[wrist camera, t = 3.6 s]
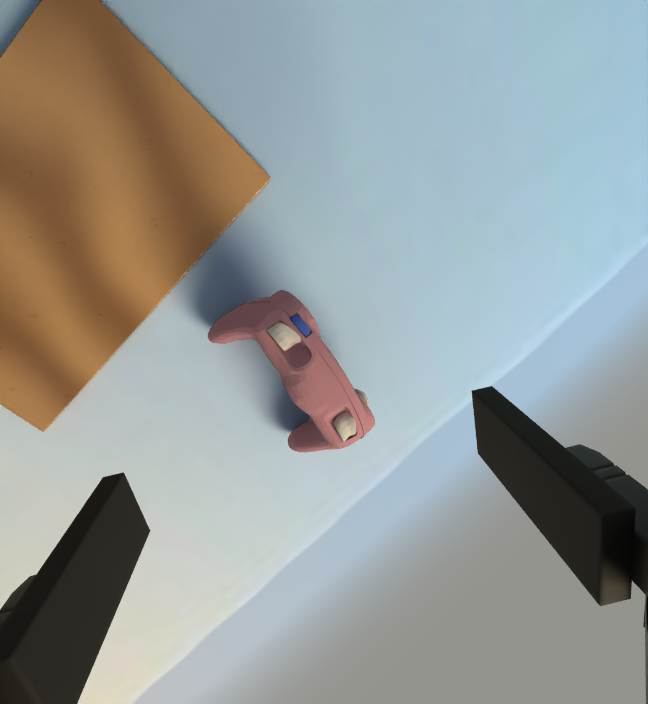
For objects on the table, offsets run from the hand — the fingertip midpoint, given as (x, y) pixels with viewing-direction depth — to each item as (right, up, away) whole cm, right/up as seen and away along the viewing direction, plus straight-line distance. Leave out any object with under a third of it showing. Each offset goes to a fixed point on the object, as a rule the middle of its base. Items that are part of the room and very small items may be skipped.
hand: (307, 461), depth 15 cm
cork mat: (-13, +10, +6) cm, 18 cm away
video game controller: (-1, +3, +10) cm, 11 cm away
